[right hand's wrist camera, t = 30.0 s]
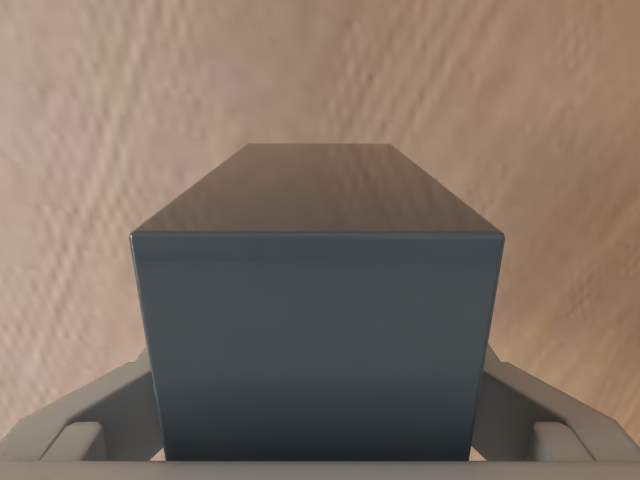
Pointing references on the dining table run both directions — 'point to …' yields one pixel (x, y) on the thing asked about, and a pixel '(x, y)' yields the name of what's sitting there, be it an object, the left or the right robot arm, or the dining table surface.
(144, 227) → the brick
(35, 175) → the dining table surface
